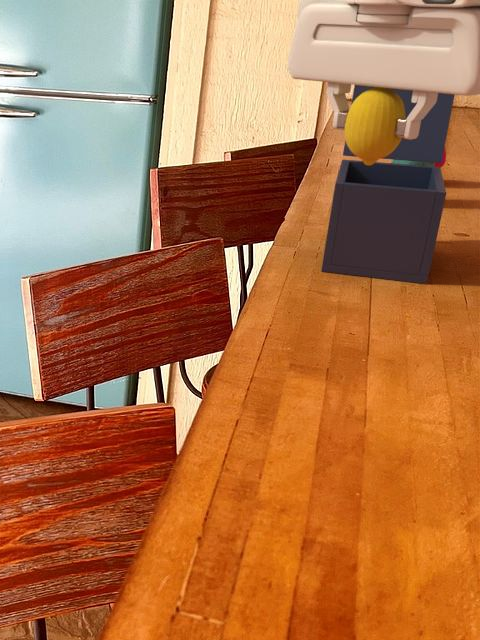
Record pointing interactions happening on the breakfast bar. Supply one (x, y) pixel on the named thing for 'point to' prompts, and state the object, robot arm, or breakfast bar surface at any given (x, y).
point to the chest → (384, 221)
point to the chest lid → (430, 131)
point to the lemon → (374, 124)
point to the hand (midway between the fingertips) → (374, 133)
